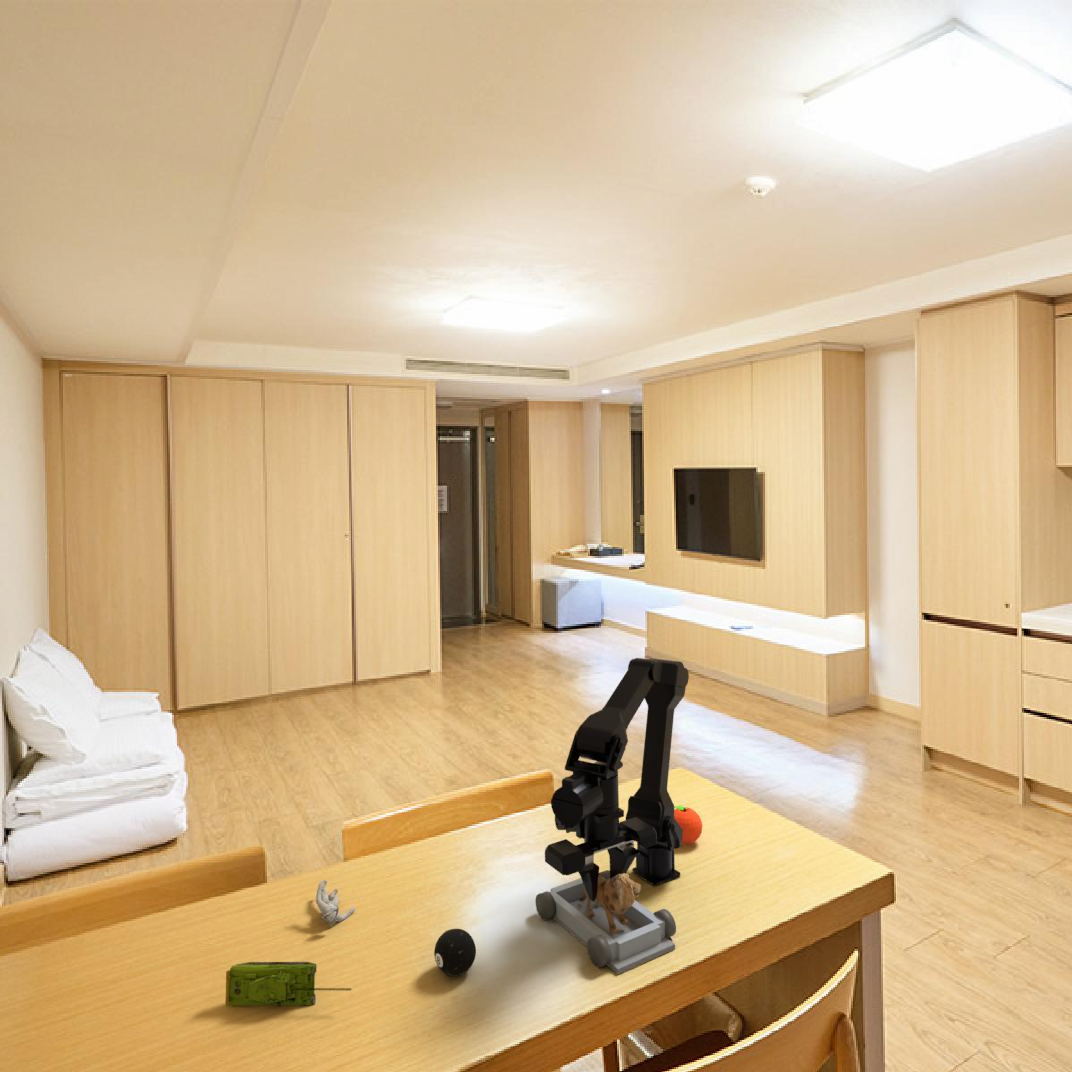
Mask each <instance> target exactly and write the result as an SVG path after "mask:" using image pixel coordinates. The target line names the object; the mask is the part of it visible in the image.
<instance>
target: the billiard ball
mask: <svg viewBox="0 0 1072 1072" xmlns="http://www.w3.org/2000/svg"><path fill="white" fill-rule="evenodd" d="M476 947H477V946H476V944H475V941H474V938H473V936H471V934H470V933H469V932H467V931H466V930H465V929H461V928H450V929H448V930H446V931H445V932H443V933H442V934H441V935H440V936H439V938H438V939H437V941H436V943H435V945H434V952H433V954H434V955H433V956H434V961H435V963H436V965H437V967H438V969H439V970H440V971H441V973H443V974H445V975H448V976H451V977H452V976H454V977H456V976H461V975H464V973H467V971H468V970H470V968H471V967H472V966H473V964H474V961H475V959H476V955H477V948H476Z"/></svg>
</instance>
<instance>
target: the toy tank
mask: <svg viewBox="0 0 1072 1072" xmlns="http://www.w3.org/2000/svg"><path fill="white" fill-rule="evenodd" d="M225 973H226V975H225V1005H224V1006H225V1007H228V1006H231V1007H233V1006H234V1007H235V1006H236V1007H237V1006H238V1007H239V1006H241V1007H242V1006H244V1007H246V1006H250V1007H252V1006H255V1007H256V1006H259V1007H261V1006H263V1007H264V1006H266V1007H269V1006H272V1007H273V1006H274V1007H276V1006H277V1007H281V1006H293V1007H295V1006H303V1007H304V1006H310V1005H311V1006H313V1005H315V1004H316V1001H317V994H316V993H315V991H334V990H347V991H352V988H348V987H347V988H345V987H343V988H338V987H337V988H335V987H334V988H333V987H332V988H330V987H329V988H328V987H327V988H326V987H325V988H324V987H323V988H322V987H319V988H318V987H317V988H316V987H315V982H316V981H315V979H316V978H315V977H316V973H317V963H314V962H310V961H248V962H244V963H243V962H242V963H239V964H235V965H232V966H231V967H230V969H229V970H226V972H225Z"/></svg>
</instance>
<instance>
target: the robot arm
mask: <svg viewBox="0 0 1072 1072" xmlns="http://www.w3.org/2000/svg"><path fill="white" fill-rule="evenodd" d="M689 676H690V675H689V670H688V668H687V667H685V666H684V663H683V662H682V661H679V660H669V659H660V658H653V657H652V658H641V657H635V658H632V659H631V660H629V663H628V666H627V671H626V672H625V674H624V675H623V677H622V679H621V680H620V682H619V683H618V684H617V686H616V688H615V689H614V691H613V692H612V694H611V695H610V697H609V698H608V700H607V702H606V703H605V705H604V706H603V707H602V708H601V709H600V710H598V711H596V712H594V713H592V714H590V715H589V716H587V718H586V719H585V720H584V721H583V722H582V723H581V724H580V725H579V727H578V728H577V729H576V731H575V733H574V736H573V739H572V742H571V746H570V749H569V753H568V755H567V759H566V762H565V765H564V771H568V772H572V774H570V775H569V776H566V777H564V778H562V780H561V786H560V787H558V788H557V789H556V790H555V791H554V792H553V793H552V796H551V797H552V798H551V799H550V805H551V810H552V813H553V815H554V823H555V828H556V829H557V831H565V834H570V833H575V836H576V837H577V838H578V839H579V840H580V839H583V841H584V842H582V843H580V844H577V845H576V844H574V843H572V842H571V841H570V840H568V839H566V838H565V839H562V840H560V841H556V842H553V843H550V844H548V845H547V846H546V847H545V849H544V863H546V864H547V865H549V866H550V867H551V868H553V869H554V870H555V871H557V872H558V873H560V875H562V876H570V875H573V874H576V873H578V874H579V876H580V878H581V879H582V881H583V884H584V886H585V889H586V891H587V894H588V897H589V899H590V900H591V901H595V899H596V894H597V885H598V876H599V873H600V865H598V864H596V863H595V862H594V858H595V857H594V856H595V854H598V853H601V852H604V851H607V853H608V856H609V871H610V879H611V878H613V877H615V876H616V875H618V874H623V873H625V874H628V871H629V869H630V867H631V866H632V864H633V863H634V860H635V867H633V868H632V873H634V874H636V875H637V876H638V877H639V878H641V879H642V880H645V882H647V883H649V884H650V885H652V886H658V885H661V884H663V883H666V882H669V881H671V880H673V879H676V878H678V877H681V872H680V871H679V870H677V869H675V868H676V867H675V865H676V863H675V850H677V849H678V850H679V849H681V848H682V844H681V842H682V838H683V836H682V835H683V829H682V828H681V827H680V825H679V824H678V822H677V821H676V820H675V818H674V810H675V808H674V807H675V804H674V802H673V800H672V797H671V795H670V794H669V793H670V792H669V791H668V780H669V772H670V770H669V769H670V760H671V759H670V758H671V749H672V738H673V737H672V736H673V726H674V718H675V717H674V715H675V709H676V707H678V705H679V704H680V703H681V701H682V699H683V698H684V697H685V693H686V687H687V686H688V684H689V679H690V677H689ZM644 701H645V702H646V705H647V715H646V722H645V723H646V725H645V726H646V727H645V734H644V745H643V746H644V747H643V755H642V756H643V757H642V766H641V775H640V777H641V778H640V785H639V788H638V789H637V790H636V792H635V794H633V795H630V796H629V798H628V800H627V812H626V814H625V810H624V809H623V808H621V807H620V802H619V770H620V769H621V768H623V766H624V762H623V761H622V759H623V756H624V754H625V751H626V748H627V745H628V743H629V739H628V734H627V733H628V732H627V729H628V728H629V725H630V723H631V721H632V720H633V719H634V716H635V715H636V714H637V712H638V710H639V709H640V707H641V705H642V703H643V702H644ZM580 758H581V759H586V760H589V762H588V761H584V760H580ZM590 761H593V762H590ZM623 817H625V820H623V821H620V818H623ZM634 842H636V847H635V844H634Z"/></svg>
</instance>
